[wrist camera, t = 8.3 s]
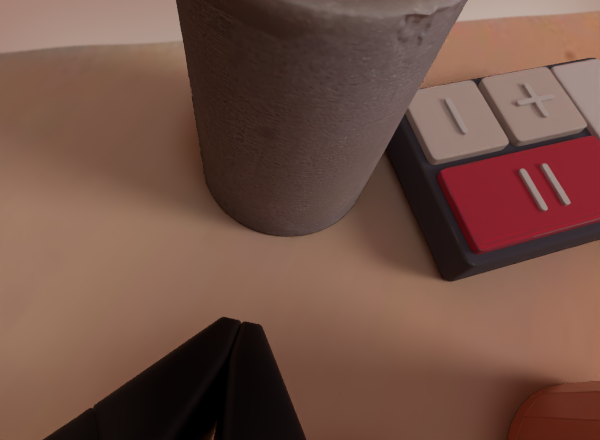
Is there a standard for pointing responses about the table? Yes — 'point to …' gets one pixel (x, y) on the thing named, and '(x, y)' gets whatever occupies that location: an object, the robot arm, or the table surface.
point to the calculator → (503, 165)
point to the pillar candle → (303, 98)
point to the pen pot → (559, 414)
